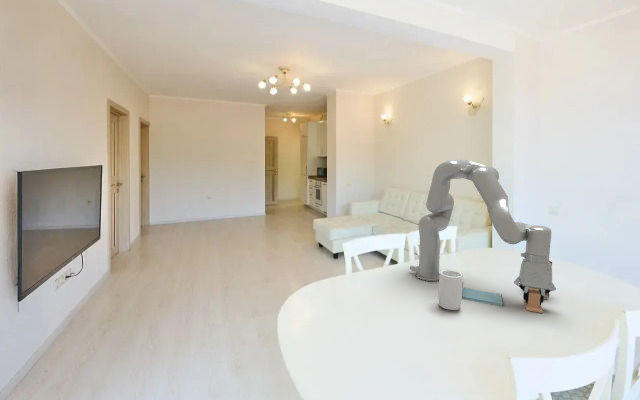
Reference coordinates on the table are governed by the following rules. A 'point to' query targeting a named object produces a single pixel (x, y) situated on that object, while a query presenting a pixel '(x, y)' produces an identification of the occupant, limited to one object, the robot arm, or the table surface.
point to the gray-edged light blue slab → (482, 296)
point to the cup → (450, 289)
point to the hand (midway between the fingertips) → (532, 302)
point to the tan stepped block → (533, 301)
